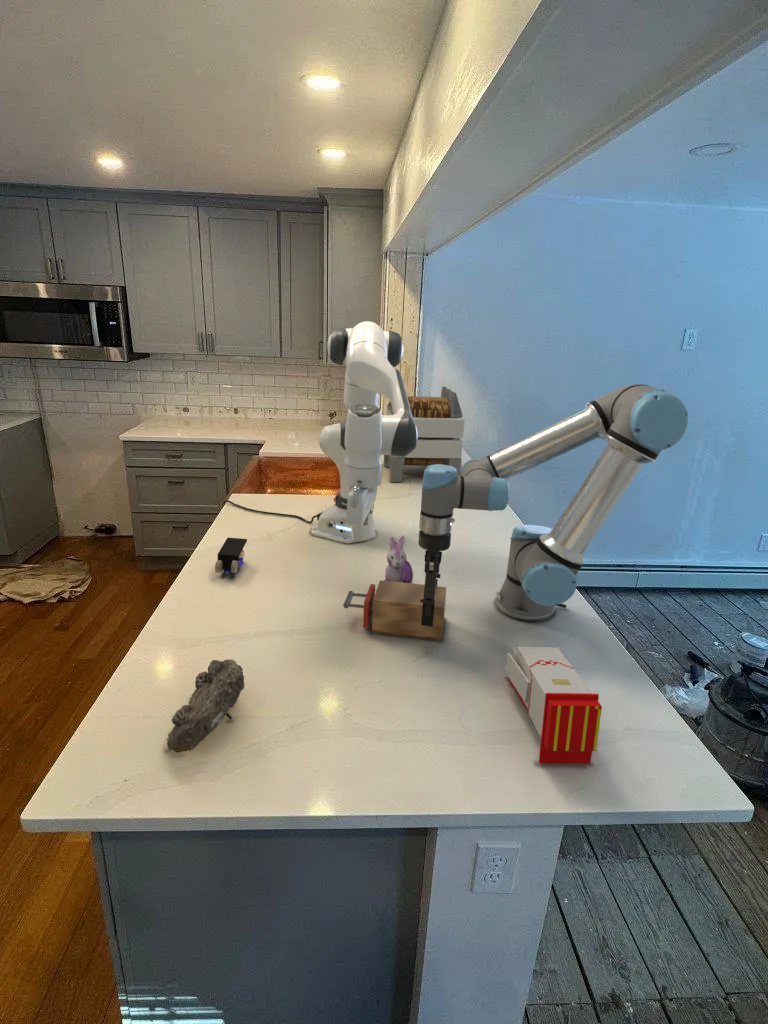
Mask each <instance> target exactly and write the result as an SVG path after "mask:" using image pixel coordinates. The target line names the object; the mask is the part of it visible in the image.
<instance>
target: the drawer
mask: <svg viewBox="0 0 768 1024" xmlns="http://www.w3.org/2000/svg"><path fill="white" fill-rule="evenodd" d="M375 593H376V583H375V584H374V583H370V585H369V588H368V590H367V592H366V593H358V592H354V591H353V590H349V591H348V592H347V595H346V598H345V600H344V602H343V603H342V606H343V608H344V609H349V608H355V609H363V619H362V620H363V621H362V625H363V628H369V626H370V623H371V621H372V617H373V599H374V596H375ZM354 597H359V598H364V601H363V604H355V603H351V602H352V600H353V598H354Z"/></svg>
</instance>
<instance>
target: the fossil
mask: <svg viewBox="0 0 768 1024" xmlns="http://www.w3.org/2000/svg"><path fill="white" fill-rule="evenodd" d="M243 670H244V669H243V667H242V665H240V664H237V662H236V661H235V660H234V659H232V658H231V659H227V658H226V659H224V660H223V661H222V660H217V659H212V660H211V661H210V663H209V665H208V666H207V671H201V672H199V673H198V674H197V675H196V676H195V680H194V684H195V685H194V687H195V689H194V690H193V693H192V694H191V697H190V698H189V700H188V704H184V705H182V706H181V707H180V709H177V710H176V711H175V713H174V715H173V716H172V718H171V723H172V724H173V727H172V730H171V731H170V732H168V734H167V738H166V741H167V742H166V745H167V749H168V750H169V751H173V752H174V753H176V754H178V753H182V752H188V751H189V752H192V751H193V750H195V748H196V747H197V746H199V744H200V743H201V742H203V741H204V740H205V739H206V738H207V737H208V736H209V735H210V734H211V733H212V732H214V730H215V729H217V727H218V726H219V724H220V722H221V721H222V720H223V719H224V718H225V716H226V717H227V719H229V720H233V717H232V715H230V714H229V710H230V709H231V708H234V706H235V704H236V703H237V702H238V699H239V697H240V695H241V693H242V691H243V690H245V689H244V688H245V675H244V671H243Z"/></svg>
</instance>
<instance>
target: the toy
mask: <svg viewBox="0 0 768 1024" xmlns="http://www.w3.org/2000/svg"><path fill="white" fill-rule="evenodd" d="M505 659H506V660H505V667H504V673H505V674H506V676H507V679H508V681H509V682H510V685H511V686H512V688H513V689H514V691H515V693H516V694H517V696H518V698H519V700H520V701H521V703H522V705H523V706H524V708H525V710H526V711H527V713H528V716H529V718H530V720H531V722H532V723H533V726H534V728H535V729H536V732H537V733H538V735H539V737H540V746H539V755H538V764H542V765H543V764H545V765H547V764H549V765H554V764H556V765H591V763H592V756H593V752H597V750H598V749H597V748H598V741H599V732H600V725H601V717H602V708H603V706H602V704H601V703H600V701H599V697H600V694H599V693H593V692H592V690H590V688H589V687H588V685H587V684H586V683H585V681H583V679H582V678H581V676H580V675H579V673H578V672H577V670H576V669H575V668H574V667H573V665H572V664H571V662H569V660H568V659H567V657H566V656H565V653H563V652H562V651H561V649H560V648H559V647H550V646H549V647H548V646H547V647H545V646H517V647H511V653H510V652H507V653H506V658H505Z"/></svg>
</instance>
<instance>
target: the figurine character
mask: <svg viewBox="0 0 768 1024" xmlns="http://www.w3.org/2000/svg"><path fill="white" fill-rule="evenodd" d="M247 542H248V538H240V537H226V539H225V541H224V543H223V544H222V546H221V547H220V549H219V551H218V552H217V560H216V562H215V564H214V572H215V573H221V577H222V578H224V577H225V576H226V574H227V573H230V574H231V573H232V574H231V578H234V577H235V575H236V573H237V572H239V571H240V567H242V566H243V565H244V564H245V562H244V558H245V551H244V547H245V546H246V544H247Z"/></svg>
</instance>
